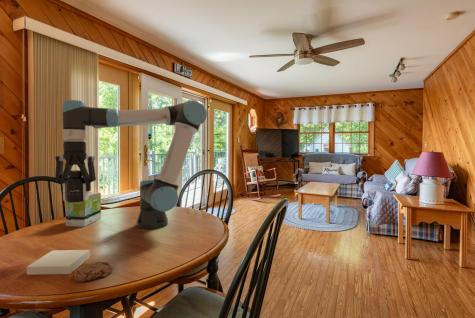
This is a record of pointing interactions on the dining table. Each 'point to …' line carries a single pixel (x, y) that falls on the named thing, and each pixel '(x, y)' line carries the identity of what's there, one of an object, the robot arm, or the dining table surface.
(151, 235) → the dining table surface
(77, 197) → the supplement bottle
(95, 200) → the tea box
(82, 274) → the cookie
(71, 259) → the ceramic tile
